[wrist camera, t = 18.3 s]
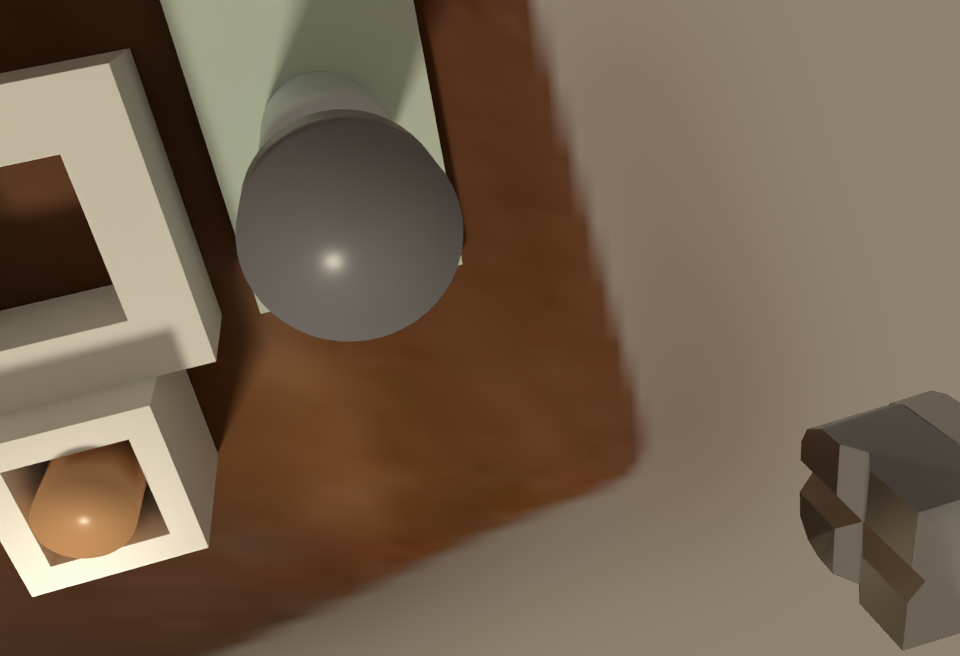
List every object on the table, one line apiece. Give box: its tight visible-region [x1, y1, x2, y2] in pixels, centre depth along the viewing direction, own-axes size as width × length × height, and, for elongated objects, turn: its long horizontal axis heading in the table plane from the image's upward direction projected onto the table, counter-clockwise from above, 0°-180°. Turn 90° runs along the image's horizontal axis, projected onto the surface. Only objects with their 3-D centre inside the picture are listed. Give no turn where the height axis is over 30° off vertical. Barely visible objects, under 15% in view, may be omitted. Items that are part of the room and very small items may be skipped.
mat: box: [160, 0, 462, 314], centre depth 29 cm, size 12×8×1 cm, turn 10°
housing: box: [0, 48, 222, 597], centre depth 27 cm, size 16×10×6 cm, turn 10°
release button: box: [29, 439, 147, 559], centre depth 28 cm, size 3×3×4 cm
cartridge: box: [235, 71, 463, 342], centre depth 23 cm, size 5×5×12 cm
